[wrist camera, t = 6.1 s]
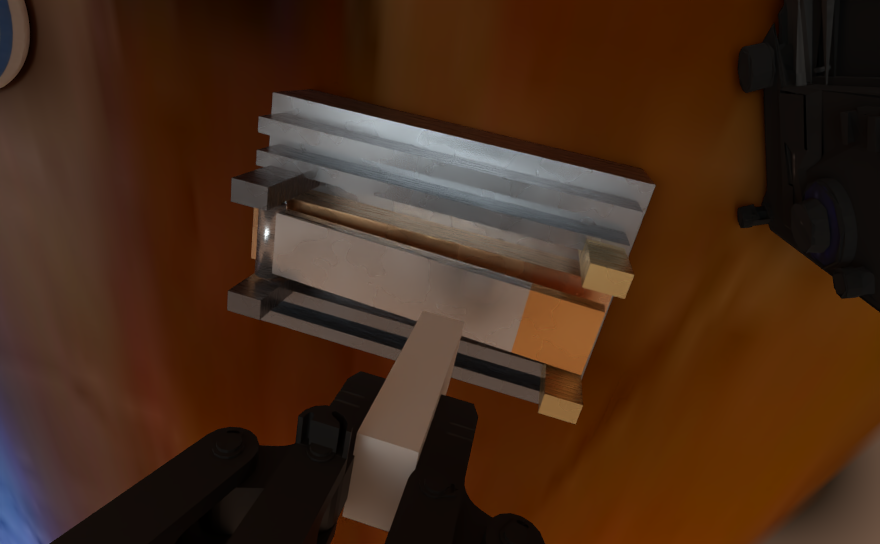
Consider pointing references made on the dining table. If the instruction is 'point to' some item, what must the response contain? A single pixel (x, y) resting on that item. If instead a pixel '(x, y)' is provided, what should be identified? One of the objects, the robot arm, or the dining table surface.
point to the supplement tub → (13, 38)
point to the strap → (428, 287)
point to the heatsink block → (442, 223)
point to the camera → (822, 137)
